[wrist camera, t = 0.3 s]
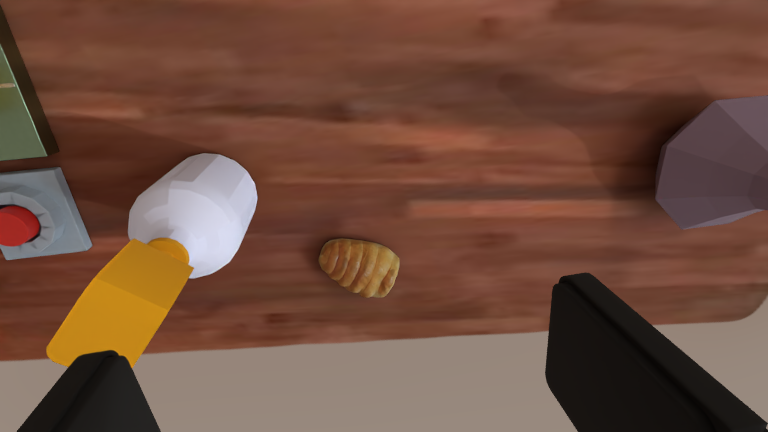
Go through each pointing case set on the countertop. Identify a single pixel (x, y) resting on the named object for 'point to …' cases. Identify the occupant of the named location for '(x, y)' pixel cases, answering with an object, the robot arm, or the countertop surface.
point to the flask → (716, 164)
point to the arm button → (17, 225)
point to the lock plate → (20, 106)
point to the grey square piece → (44, 212)
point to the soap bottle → (160, 257)
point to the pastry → (360, 266)
